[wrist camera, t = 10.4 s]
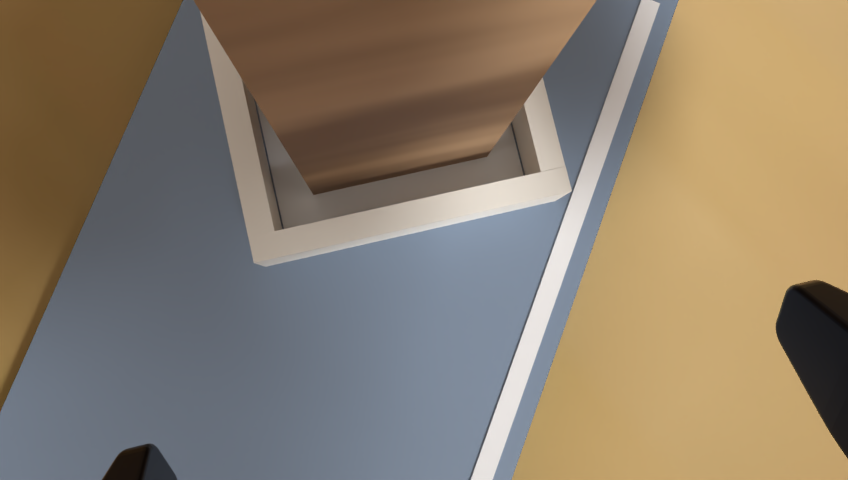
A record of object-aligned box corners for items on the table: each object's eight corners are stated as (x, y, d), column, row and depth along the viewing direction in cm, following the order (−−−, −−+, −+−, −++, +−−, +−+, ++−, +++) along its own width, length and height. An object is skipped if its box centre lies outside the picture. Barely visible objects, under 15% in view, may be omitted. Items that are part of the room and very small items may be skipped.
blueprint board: (399, 772, 16) (403, 848, 14) (-68, 603, 16) (-143, 652, 14) (667, 7, 19) (707, -35, 16) (265, -152, 18) (248, -217, 16)
